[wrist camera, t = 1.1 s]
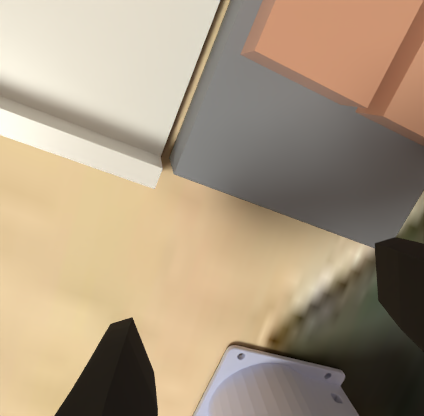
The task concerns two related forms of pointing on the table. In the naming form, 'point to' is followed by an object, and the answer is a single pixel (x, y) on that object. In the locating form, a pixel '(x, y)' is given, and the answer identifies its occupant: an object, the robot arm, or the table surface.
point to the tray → (99, 77)
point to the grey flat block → (293, 145)
